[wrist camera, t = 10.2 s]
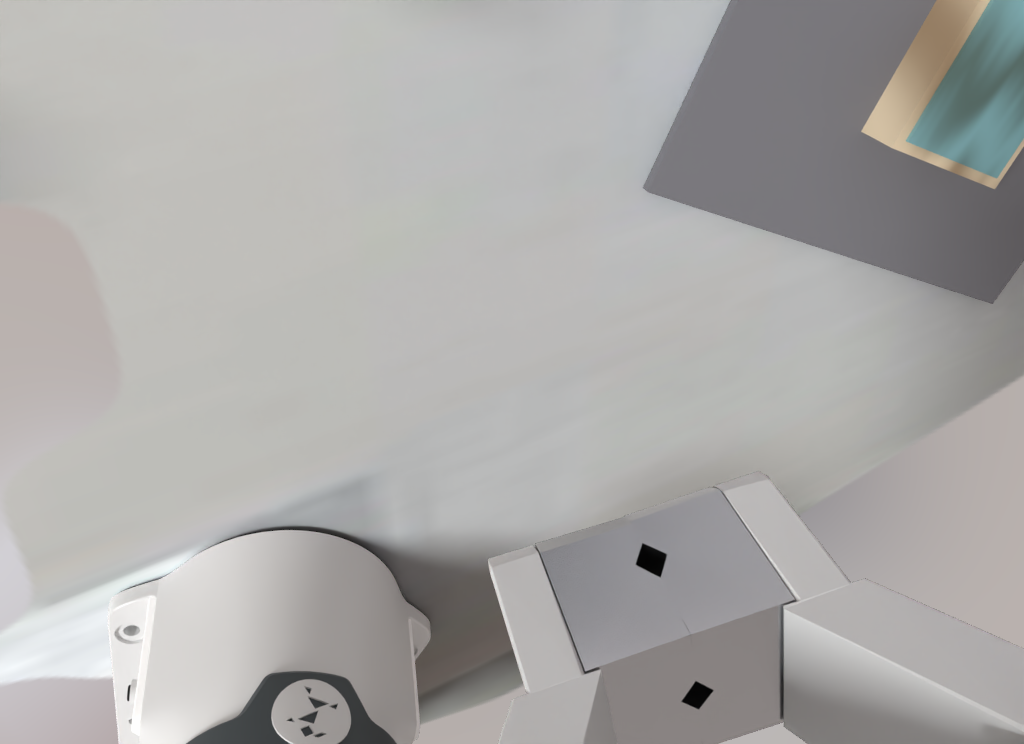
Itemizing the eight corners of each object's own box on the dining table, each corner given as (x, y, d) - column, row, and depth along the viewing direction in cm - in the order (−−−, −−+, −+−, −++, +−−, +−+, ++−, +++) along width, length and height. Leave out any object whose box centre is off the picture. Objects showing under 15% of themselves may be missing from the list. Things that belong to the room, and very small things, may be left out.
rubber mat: (985, 299, 50) (992, 303, 49) (643, 187, 41) (647, 191, 40) (1266, -98, 40) (1279, -97, 40) (900, -362, 31) (910, -365, 31)
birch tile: (861, 131, 41) (961, 172, 44) (894, 149, 39) (997, 190, 42) (985, -86, 37) (1089, -27, 39) (1031, -80, 35) (1137, -17, 37)
